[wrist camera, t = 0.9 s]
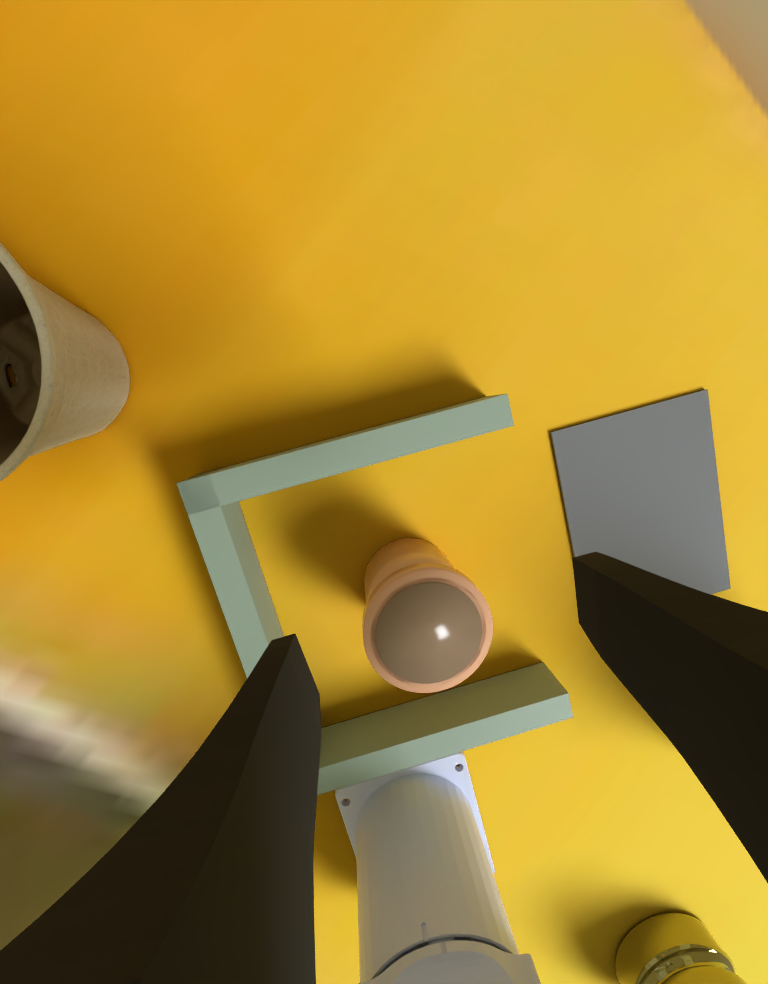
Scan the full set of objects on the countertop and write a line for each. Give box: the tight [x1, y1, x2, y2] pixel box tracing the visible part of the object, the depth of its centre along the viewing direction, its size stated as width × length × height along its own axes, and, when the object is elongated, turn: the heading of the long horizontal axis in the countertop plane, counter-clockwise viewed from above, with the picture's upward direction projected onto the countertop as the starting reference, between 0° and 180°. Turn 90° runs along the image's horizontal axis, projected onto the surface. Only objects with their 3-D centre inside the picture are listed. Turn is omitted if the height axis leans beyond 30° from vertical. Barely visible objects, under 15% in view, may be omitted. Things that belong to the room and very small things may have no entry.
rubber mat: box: [550, 389, 730, 594], centre depth 25 cm, size 12×9×1 cm
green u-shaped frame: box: [176, 394, 573, 795], centre depth 23 cm, size 18×16×3 cm
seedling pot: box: [362, 538, 493, 693], centre depth 22 cm, size 6×6×6 cm
